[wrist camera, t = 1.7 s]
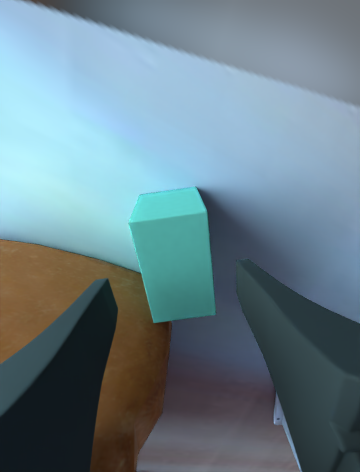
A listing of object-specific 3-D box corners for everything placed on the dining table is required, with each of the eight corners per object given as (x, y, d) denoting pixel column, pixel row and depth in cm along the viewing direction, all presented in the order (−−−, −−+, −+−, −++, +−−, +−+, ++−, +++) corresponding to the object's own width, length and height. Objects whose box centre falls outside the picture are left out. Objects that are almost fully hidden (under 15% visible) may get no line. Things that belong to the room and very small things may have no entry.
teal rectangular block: (204, 269, 19) (216, 315, 14) (156, 276, 19) (153, 323, 14) (196, 186, 16) (207, 210, 11) (139, 194, 16) (127, 222, 11)
